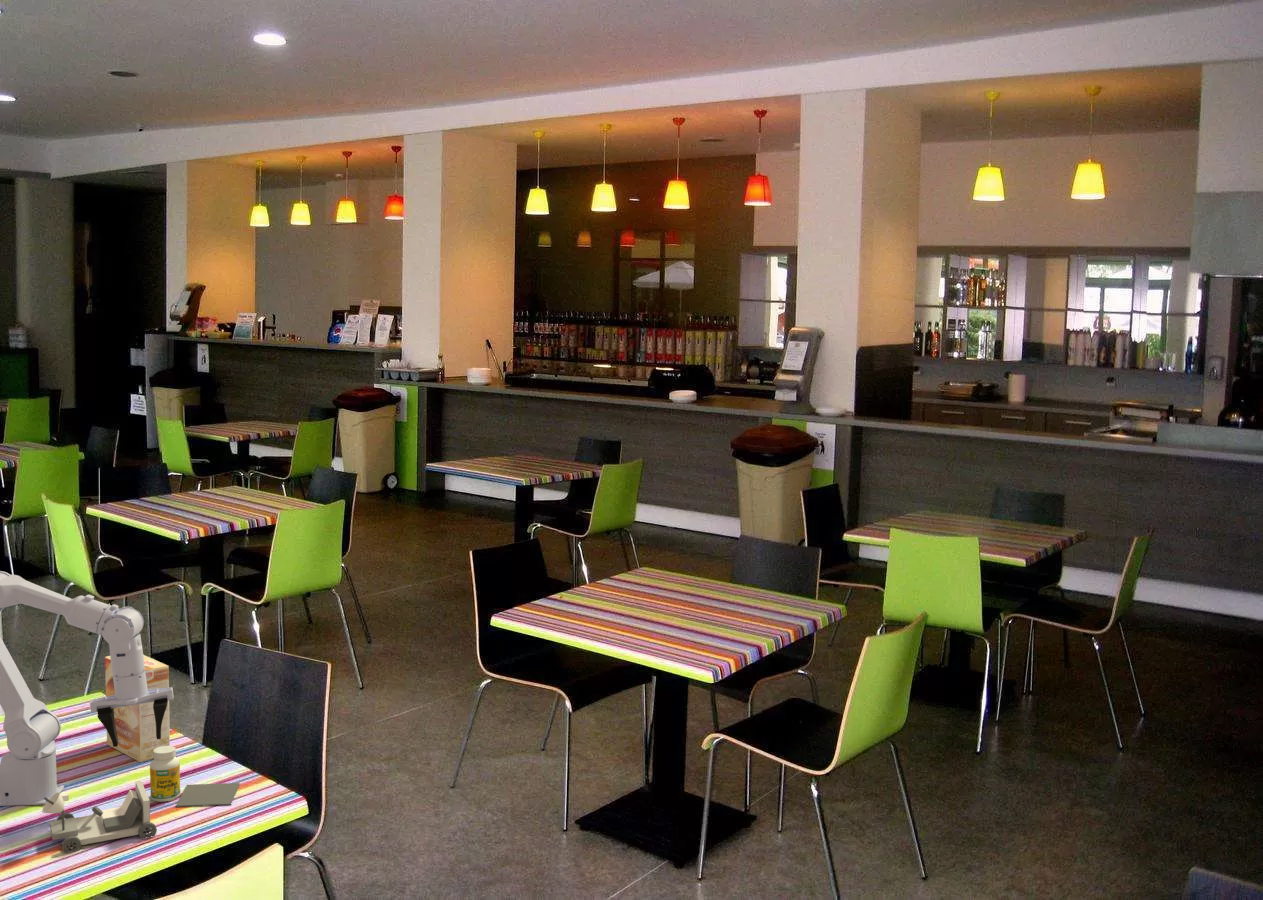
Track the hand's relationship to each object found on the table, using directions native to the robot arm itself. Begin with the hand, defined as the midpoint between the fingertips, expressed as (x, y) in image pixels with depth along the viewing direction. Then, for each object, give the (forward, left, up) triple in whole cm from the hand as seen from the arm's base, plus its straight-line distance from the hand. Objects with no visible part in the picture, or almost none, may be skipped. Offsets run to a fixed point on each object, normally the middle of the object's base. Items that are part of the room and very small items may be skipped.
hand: (137, 741), depth 226 cm
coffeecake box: (-6, +26, -12) cm, 29 cm away
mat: (+13, 0, -11) cm, 17 cm away
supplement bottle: (+5, 0, -12) cm, 13 cm away
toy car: (-3, -15, -12) cm, 20 cm away
